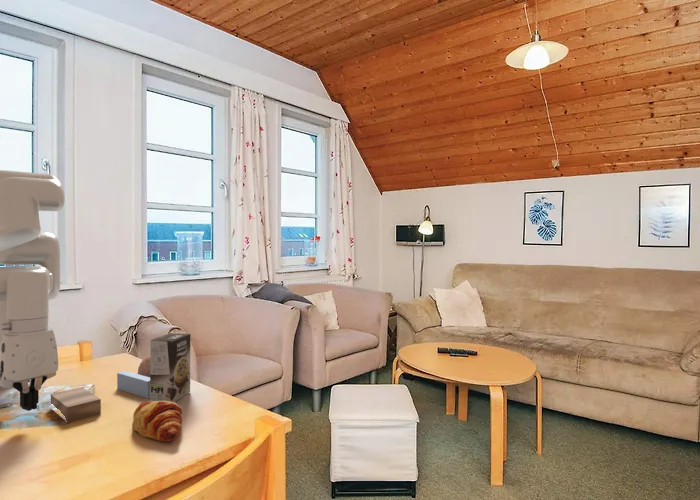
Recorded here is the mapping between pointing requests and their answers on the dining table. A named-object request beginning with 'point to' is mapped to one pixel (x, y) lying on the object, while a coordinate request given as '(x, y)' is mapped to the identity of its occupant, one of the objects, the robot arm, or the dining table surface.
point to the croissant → (158, 420)
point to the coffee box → (170, 367)
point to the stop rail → (134, 383)
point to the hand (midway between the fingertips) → (29, 408)
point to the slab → (77, 404)
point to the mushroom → (145, 367)
